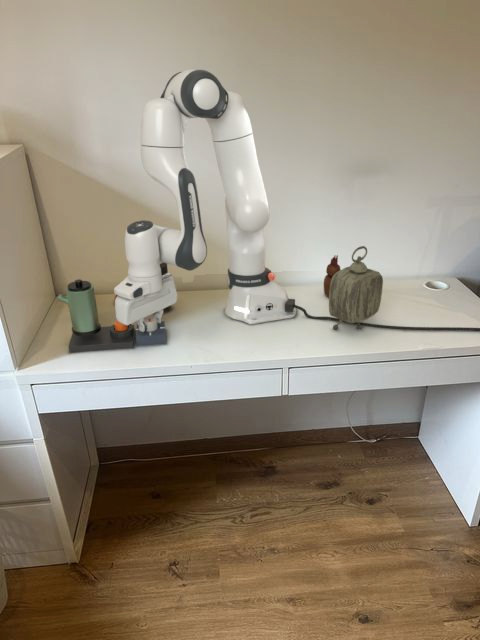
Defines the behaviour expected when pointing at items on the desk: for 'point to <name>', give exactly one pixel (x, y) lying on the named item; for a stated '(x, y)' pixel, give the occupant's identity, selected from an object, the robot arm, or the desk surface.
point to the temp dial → (150, 323)
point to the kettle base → (103, 340)
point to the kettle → (82, 308)
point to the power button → (120, 326)
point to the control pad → (151, 336)
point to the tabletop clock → (355, 292)
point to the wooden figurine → (330, 274)
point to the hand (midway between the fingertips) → (150, 327)
